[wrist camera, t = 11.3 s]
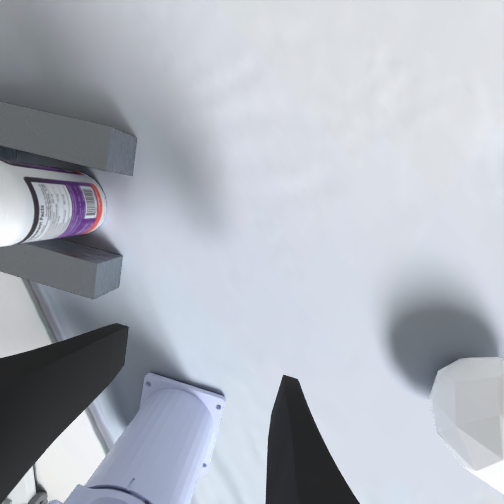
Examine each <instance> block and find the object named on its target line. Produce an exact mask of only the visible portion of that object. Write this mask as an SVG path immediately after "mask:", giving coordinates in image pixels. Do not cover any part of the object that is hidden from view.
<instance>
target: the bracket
mask: <svg viewBox="0 0 504 504" xmlns="http://www.w3.org/2000/svg"><path fill="white" fill-rule="evenodd" d="M136 142H137V138H136V137H134V136H131V135H129V134H127V133H125V132H122V131H120V130H118V129H116V128H113V127H111V126H107V125H102V124H98V123H93V122H89V121H84V120H80V119H76V118H71V117H67V116H62V115H58V114H53V113H49V112H44V111H40V110H35V109H31V108H27V107H22V106H18V105H13V104H9V103H4V102H0V159H2V160H8V161H15V162H16V149H17V150H21V151H25V152H30V153H34V154H38V155H42V156H46V157H50V158H54V159H58V160H62V161H66V162H71V163H75V164H79V165H83V166H87V167H91V168H95V169H99V170H103V171H108V172H113V173H119V174H124V175H130V176H132V175H133V167H134V159H135V150H136ZM122 258H123V256H121V255H117V254H113V253H110V252H106V251H103V250H99V249H95V248H92V247H88V246H84V245H81V244H77V243H74V242H70V241H66V240H63V239H59V238H55V239H49V240H42V241H36V242H29V243H24V244H17V245H11V246H2V247H0V272H4V273H7V274H11V275H14V276H17V277H21V278H24V279H27V280H31V281H34V282H37V283H41V284H44V285H47V286H51V287H54V288H57V289H61V290H64V291H68V292H71V293H74V294H78V295H81V296H84V297H88V298H91V299H96V298H98V297H100V296H102V295H104V294H106V293H108V292H110V291H112V290H114V289H116V288H118V287H119V282H120V274H121V266H122Z"/></svg>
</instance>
